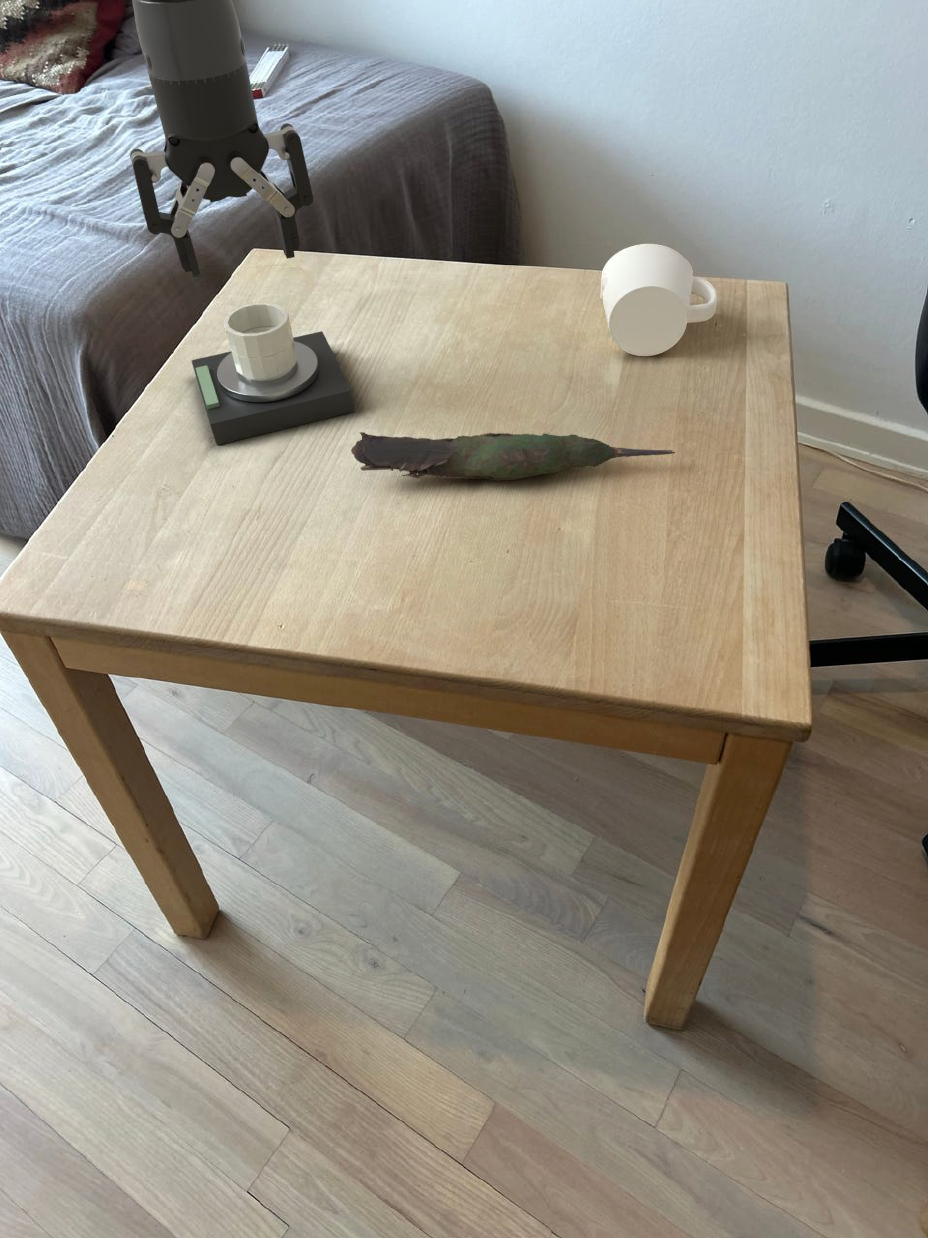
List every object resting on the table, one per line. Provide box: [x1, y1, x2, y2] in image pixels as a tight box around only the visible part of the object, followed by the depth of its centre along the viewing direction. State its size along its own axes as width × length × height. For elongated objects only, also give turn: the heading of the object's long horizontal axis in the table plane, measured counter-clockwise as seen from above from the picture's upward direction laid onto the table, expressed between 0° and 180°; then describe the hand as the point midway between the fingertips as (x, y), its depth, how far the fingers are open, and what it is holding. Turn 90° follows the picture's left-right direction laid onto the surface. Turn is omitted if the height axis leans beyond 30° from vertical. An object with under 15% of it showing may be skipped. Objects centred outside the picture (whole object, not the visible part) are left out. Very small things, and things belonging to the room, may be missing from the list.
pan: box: [217, 341, 319, 402], centre depth 88 cm, size 10×10×1 cm
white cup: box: [223, 301, 297, 381], centre depth 86 cm, size 6×6×5 cm
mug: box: [599, 243, 719, 357], centre depth 92 cm, size 12×9×8 cm
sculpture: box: [350, 431, 676, 482], centre depth 79 cm, size 5×29×5 cm, turn 91°
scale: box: [191, 331, 356, 446], centre depth 89 cm, size 14×12×3 cm
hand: (242, 263), depth 79 cm, fingers open, 8 cm apart
